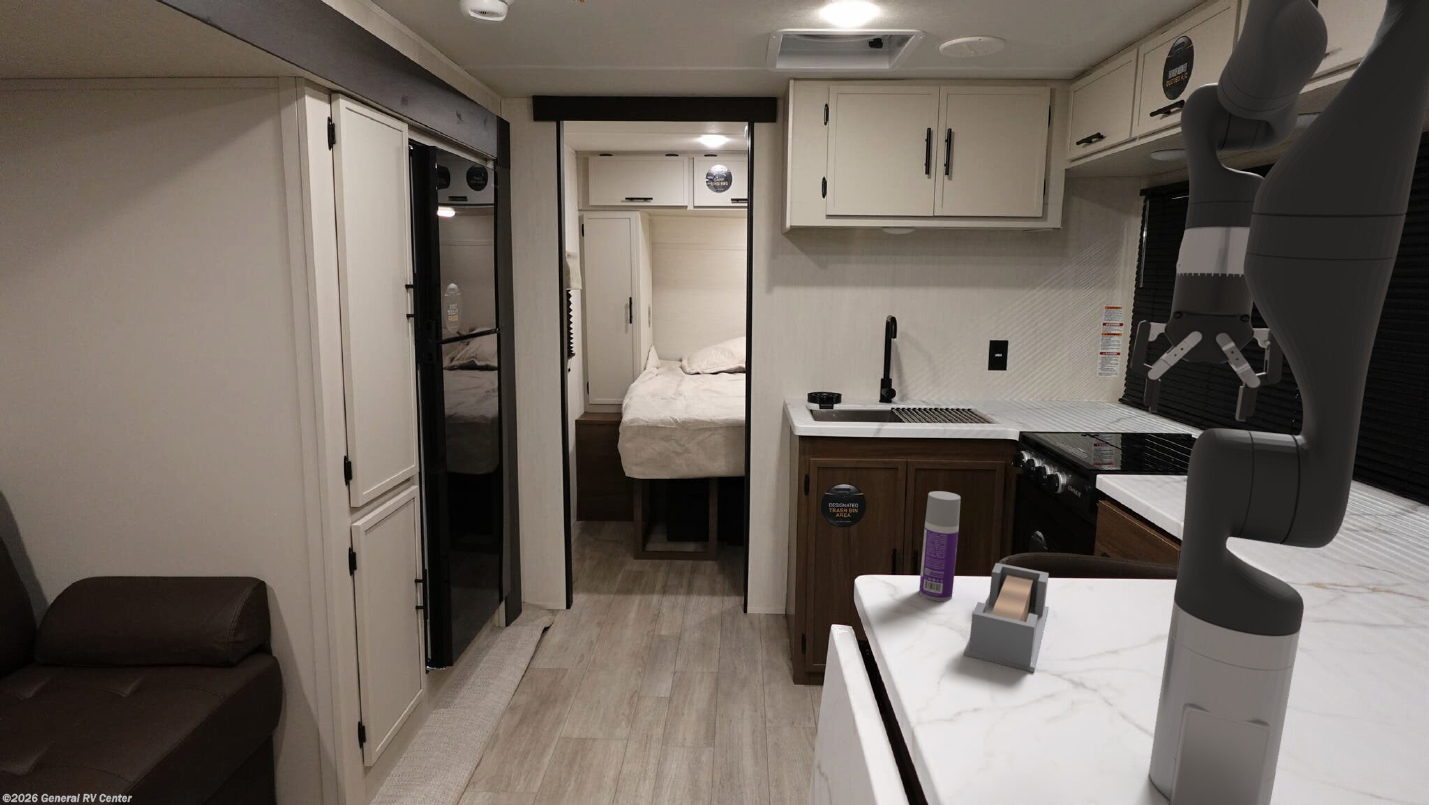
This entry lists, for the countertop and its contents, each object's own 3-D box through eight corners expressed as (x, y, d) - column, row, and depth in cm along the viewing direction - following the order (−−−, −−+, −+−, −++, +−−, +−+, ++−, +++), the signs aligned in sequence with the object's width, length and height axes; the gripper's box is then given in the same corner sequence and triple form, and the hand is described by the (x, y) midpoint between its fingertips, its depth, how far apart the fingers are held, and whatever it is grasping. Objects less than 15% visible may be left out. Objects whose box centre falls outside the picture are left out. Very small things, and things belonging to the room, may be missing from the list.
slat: (1016, 653, 93) (1019, 622, 92) (987, 646, 95) (990, 616, 94) (1030, 606, 107) (1033, 579, 106) (1004, 601, 109) (1007, 574, 108)
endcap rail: (1034, 672, 90) (1039, 628, 89) (964, 655, 93) (968, 612, 93) (1048, 611, 107) (1052, 573, 106) (988, 598, 111) (992, 562, 110)
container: (959, 599, 110) (968, 498, 108) (932, 603, 108) (941, 501, 106) (938, 586, 115) (947, 490, 112) (912, 590, 113) (920, 492, 110)
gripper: (1144, 268, 84) (1126, 413, 87) (1303, 272, 78) (1278, 428, 80) (1141, 271, 91) (1124, 405, 93) (1287, 274, 85) (1265, 418, 87)
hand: (1195, 415), depth 87 cm, fingers open, 8 cm apart
